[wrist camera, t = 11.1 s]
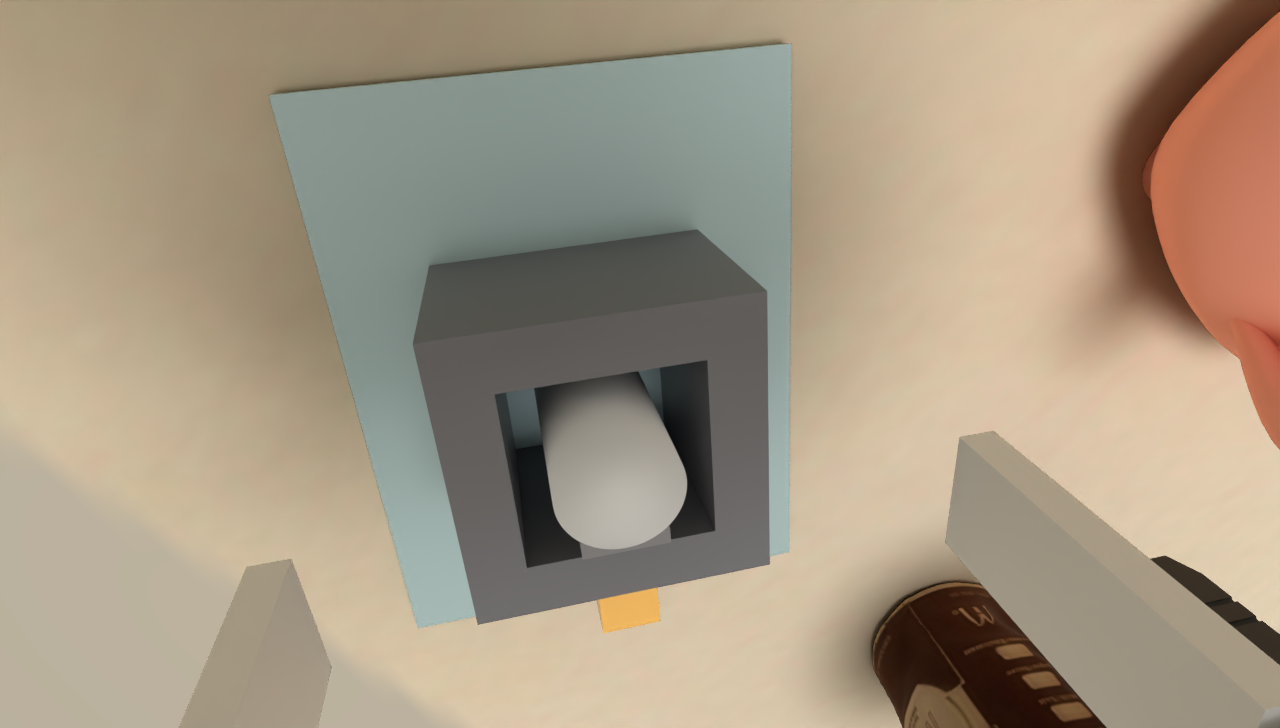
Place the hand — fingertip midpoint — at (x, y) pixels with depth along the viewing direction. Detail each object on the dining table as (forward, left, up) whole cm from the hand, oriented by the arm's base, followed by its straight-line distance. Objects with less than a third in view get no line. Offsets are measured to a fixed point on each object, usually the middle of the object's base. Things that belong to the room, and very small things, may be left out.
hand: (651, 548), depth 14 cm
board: (0, 0, -10) cm, 10 cm away
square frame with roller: (0, 0, -10) cm, 10 cm away
